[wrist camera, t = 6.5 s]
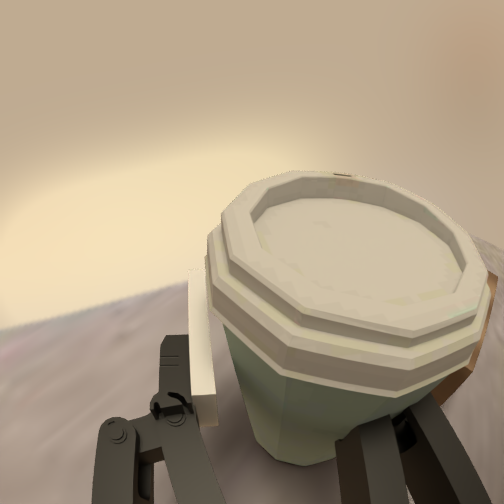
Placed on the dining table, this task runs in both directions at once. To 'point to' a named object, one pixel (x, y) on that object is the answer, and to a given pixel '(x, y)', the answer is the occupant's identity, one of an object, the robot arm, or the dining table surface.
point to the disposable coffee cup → (340, 304)
